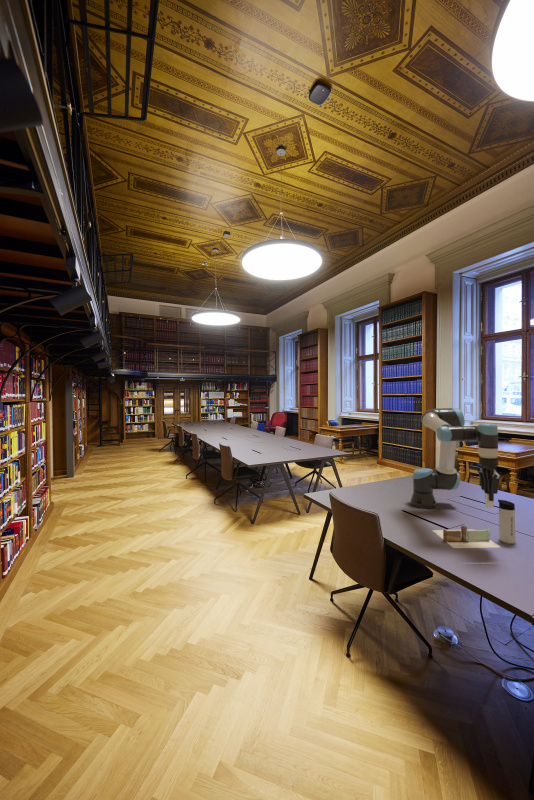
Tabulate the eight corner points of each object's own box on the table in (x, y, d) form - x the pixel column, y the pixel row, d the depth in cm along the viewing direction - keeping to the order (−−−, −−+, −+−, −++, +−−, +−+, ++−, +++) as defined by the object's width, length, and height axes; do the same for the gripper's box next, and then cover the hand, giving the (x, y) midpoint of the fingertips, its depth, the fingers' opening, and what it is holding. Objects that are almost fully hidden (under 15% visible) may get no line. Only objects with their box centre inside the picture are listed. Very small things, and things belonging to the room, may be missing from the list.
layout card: (432, 531, 168) (432, 530, 168) (473, 530, 168) (473, 529, 168) (454, 549, 148) (453, 548, 148) (501, 548, 148) (501, 547, 148)
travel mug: (499, 538, 159) (498, 498, 159) (515, 541, 155) (515, 500, 154) (498, 542, 154) (497, 501, 154) (515, 546, 150) (514, 504, 150)
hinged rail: (468, 540, 155) (468, 530, 155) (466, 539, 156) (466, 529, 156) (490, 540, 154) (490, 530, 154) (488, 539, 156) (488, 528, 156)
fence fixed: (442, 540, 157) (442, 526, 157) (465, 539, 157) (464, 525, 157) (444, 542, 154) (444, 528, 154) (468, 542, 154) (467, 527, 154)
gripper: (506, 459, 142) (508, 511, 143) (487, 454, 155) (488, 502, 156) (490, 459, 143) (491, 512, 143) (471, 454, 156) (472, 502, 156)
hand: (489, 507), depth 149 cm, fingers closed
